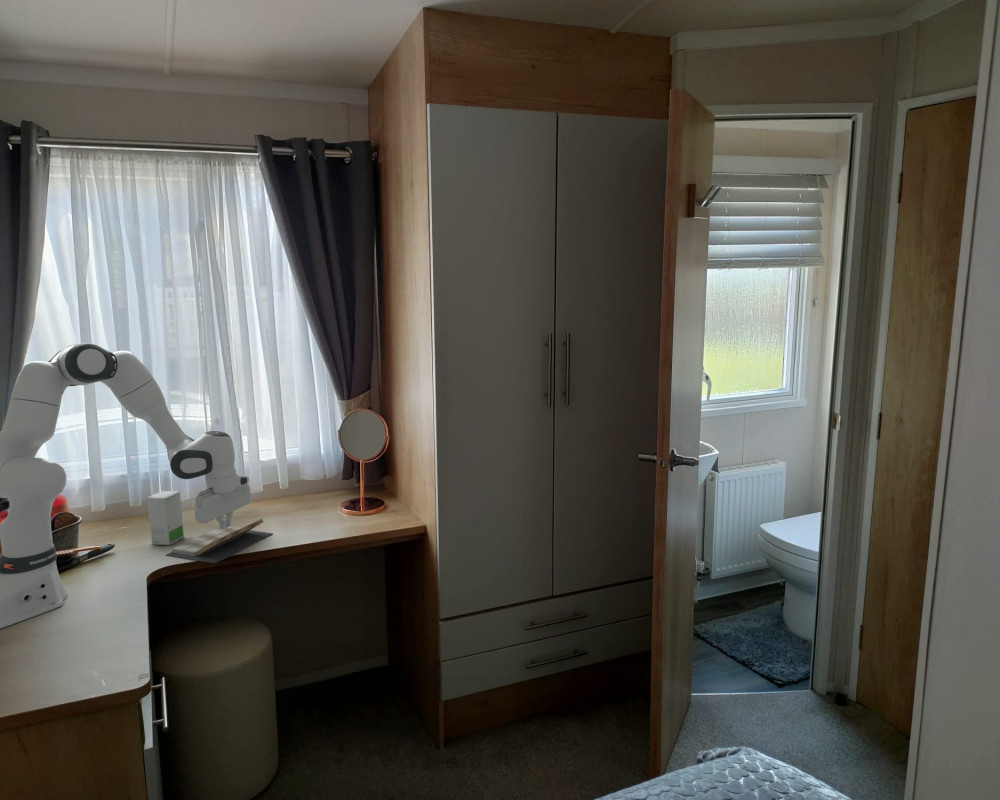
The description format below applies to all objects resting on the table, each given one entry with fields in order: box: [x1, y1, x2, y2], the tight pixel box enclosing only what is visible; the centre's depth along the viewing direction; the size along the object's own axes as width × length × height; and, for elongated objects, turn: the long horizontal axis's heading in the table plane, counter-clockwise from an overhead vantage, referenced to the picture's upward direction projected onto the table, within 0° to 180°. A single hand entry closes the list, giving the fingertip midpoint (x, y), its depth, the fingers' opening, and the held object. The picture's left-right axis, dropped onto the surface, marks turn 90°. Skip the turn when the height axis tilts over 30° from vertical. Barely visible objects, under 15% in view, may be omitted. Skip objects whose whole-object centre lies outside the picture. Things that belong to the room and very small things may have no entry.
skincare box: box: [146, 490, 185, 546], centre depth 230 cm, size 8×7×16 cm
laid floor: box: [171, 526, 242, 556], centre depth 229 cm, size 22×9×1 cm, turn 158°
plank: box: [195, 518, 264, 555], centre depth 225 cm, size 22×8×1 cm, turn 158°
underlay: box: [165, 529, 274, 565], centre depth 227 cm, size 26×19×1 cm
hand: (225, 527), depth 220 cm, fingers closed
